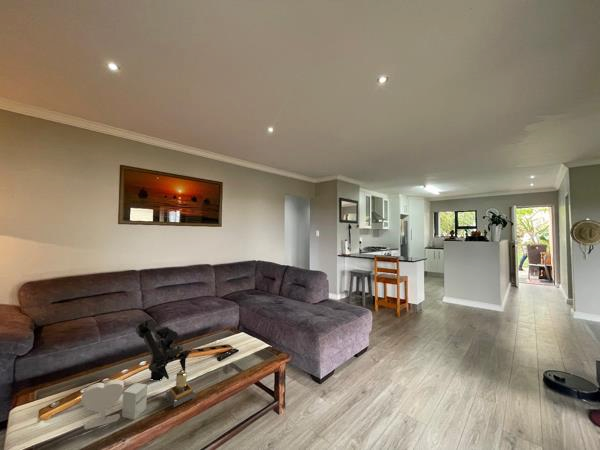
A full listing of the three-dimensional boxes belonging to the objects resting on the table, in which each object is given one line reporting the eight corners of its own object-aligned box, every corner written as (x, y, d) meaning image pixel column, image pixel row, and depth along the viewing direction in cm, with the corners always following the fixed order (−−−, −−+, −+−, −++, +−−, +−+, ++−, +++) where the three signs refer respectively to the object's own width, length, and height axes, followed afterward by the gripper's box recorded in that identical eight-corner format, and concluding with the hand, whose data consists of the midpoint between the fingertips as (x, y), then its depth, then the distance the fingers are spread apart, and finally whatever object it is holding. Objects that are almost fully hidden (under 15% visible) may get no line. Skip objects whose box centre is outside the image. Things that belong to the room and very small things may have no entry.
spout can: (174, 392, 135) (174, 370, 135) (182, 387, 139) (183, 366, 139) (179, 397, 132) (180, 374, 132) (188, 392, 136) (189, 370, 136)
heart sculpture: (123, 412, 124) (124, 376, 124) (121, 419, 120) (123, 382, 119) (83, 422, 117) (84, 384, 117) (79, 431, 112) (81, 391, 112)
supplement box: (134, 420, 120) (135, 394, 120) (121, 417, 121) (122, 391, 121) (146, 408, 127) (147, 384, 127) (134, 406, 128) (135, 381, 128)
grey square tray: (174, 408, 128) (174, 398, 128) (166, 397, 136) (166, 388, 136) (195, 397, 136) (195, 388, 136) (186, 388, 144) (187, 379, 144)
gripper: (155, 348, 134) (164, 377, 128) (188, 336, 149) (198, 361, 143) (148, 357, 139) (157, 385, 133) (181, 345, 154) (190, 369, 148)
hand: (176, 375), depth 139 cm, fingers open, 9 cm apart
